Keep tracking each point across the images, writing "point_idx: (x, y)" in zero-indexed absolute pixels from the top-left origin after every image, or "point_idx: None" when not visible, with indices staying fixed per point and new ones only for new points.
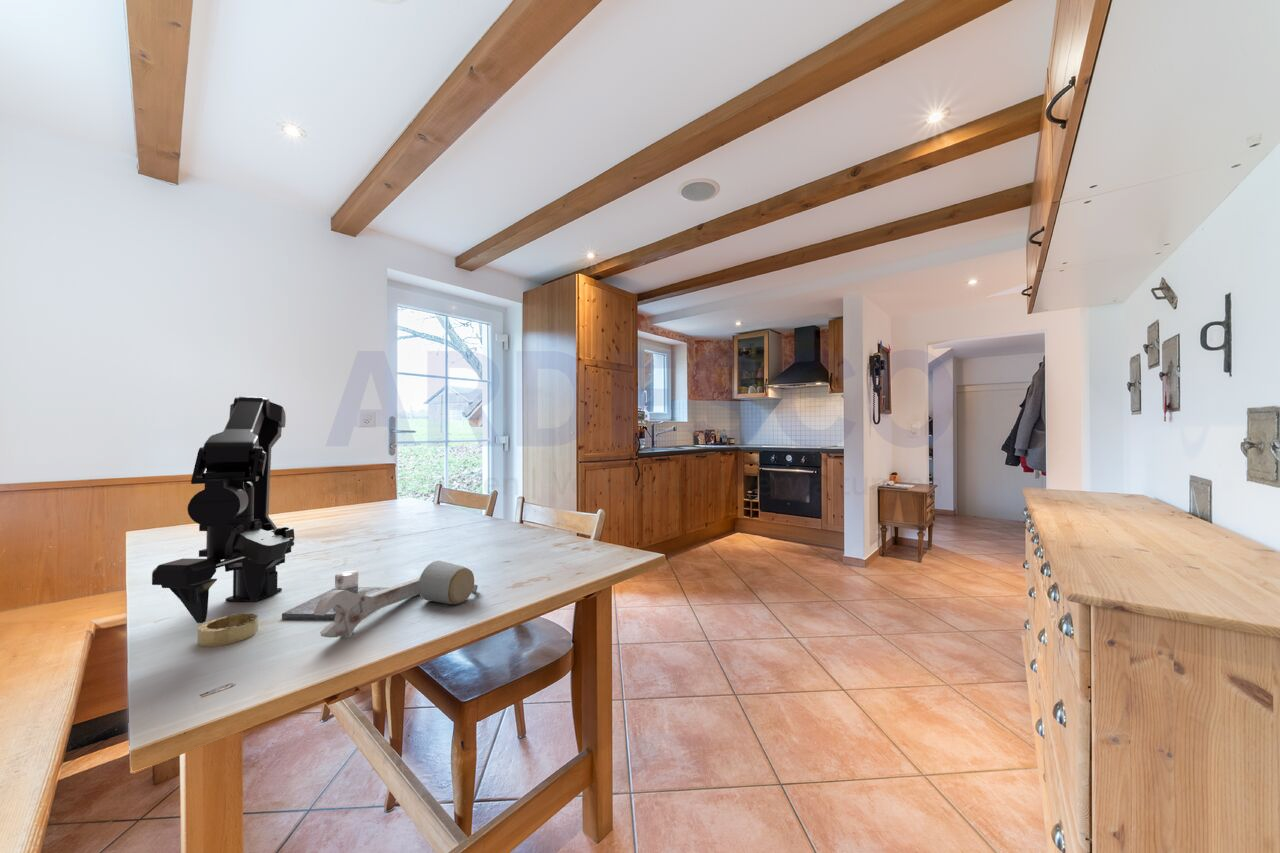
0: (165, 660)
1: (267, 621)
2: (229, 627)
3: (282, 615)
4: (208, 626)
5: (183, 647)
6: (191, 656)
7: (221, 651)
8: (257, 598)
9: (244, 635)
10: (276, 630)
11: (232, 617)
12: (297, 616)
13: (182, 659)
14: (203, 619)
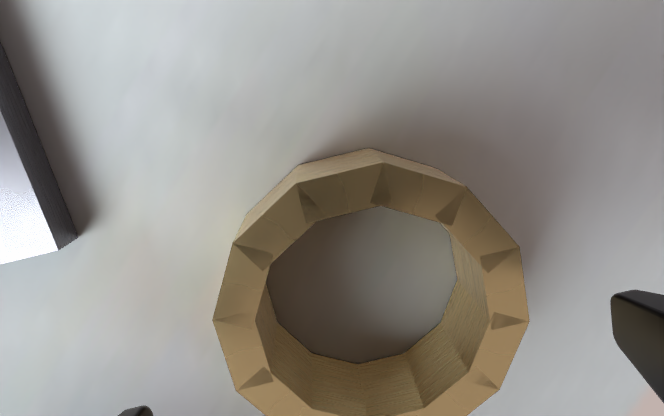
0: (636, 280)
1: (136, 290)
2: (449, 211)
3: (64, 239)
4: (431, 390)
5: None
6: (586, 205)
7: (515, 109)
8: (130, 413)
9: (371, 150)
10: (211, 88)
11: (299, 390)
12: (22, 132)
13: (620, 211)
14: (655, 294)
